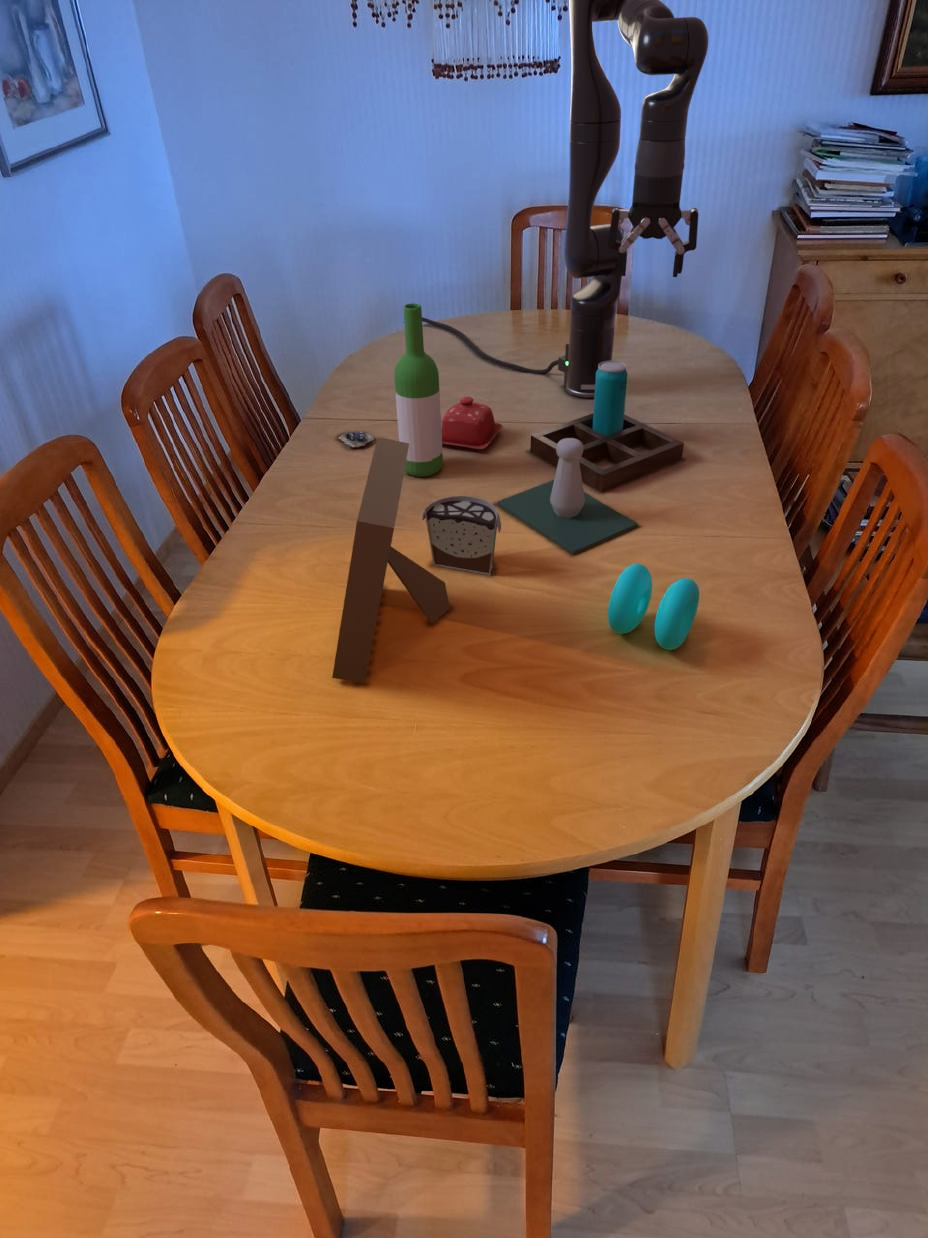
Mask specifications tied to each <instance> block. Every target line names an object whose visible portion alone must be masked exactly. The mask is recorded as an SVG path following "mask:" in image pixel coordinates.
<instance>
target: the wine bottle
mask: <svg viewBox="0 0 928 1238" xmlns="http://www.w3.org/2000/svg"><path fill="white" fill-rule="evenodd" d="M422 312H423V311H422V305H421V304H419V303H416V302H415V303H407V304H405V305H404V306H403V319H404V321H403V322H405V323H404V334H405V335H404V336H405V337H404V338H405V353H404V354H403V355H402V356H401V357H400V358H399V359H398V360H397V362H396V365H395V367H394V374H393V375H394V376H393V377H394V386H395V387H394V388H395V389H394V393H395V405H396V406H395V407H396V417H397V419H396V420H397V432H398V433H397V434H398V441H400V442H405V443H409V448H408V454H407V459H406V465H405V471H404V473H406V474H407V475H409V476H413V477H417V478H418V477H419V478H424V477H430V476H433V475H435V474H437V473H438V472H439V471H440V470H441V469H442V467H443V463H444V461H443V460H444V458H443V444H442V432H441V428H442V417H441V416H442V415H441V412H442V411H441V391H440V389H441V388H440V376H439V375H440V374H439V368H438V365H437V363H436V361H435V360H434V359H433V358H432V356H431V355H429V354H428V353H426V351H425V347H424V346H425V345H424V330H423V321H422V317H423V314H422Z"/></svg>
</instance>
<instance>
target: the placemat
mask: <svg viewBox="0 0 928 1238" xmlns="http://www.w3.org/2000/svg"><path fill="white" fill-rule="evenodd" d="M553 483H554V479H552V480H550V481H547V482H544V483H542V484H540V485H537V486H534V487H532V488H529V489H527V490H524V491H522V492H519V493H516V494H513V495H511V496H508V497H506V498H504V499H501V500H498V501H496V505H497V506H499V507H500V508H501V509H503V510H505V511H506V512H507V513H509V514H510V515H512V516H513V517H515V518H517V519H518V520H519V521H521V522H523V523H524V524H526V525H527V526H529V527H530V528H532V529H533V530H535V531H536V532H538V533H539V534H541V535H542V536H544V537H545V538H547V539H549V540H550V541H551V542H553V543H554V544H556V545H558V546H559V547H561V548H562V549H563V550H565V551H567V552H568V553H570V554H571V555H576V554H578V553H580V552H582V551H585V550H588V549H590V548H592V547H594V546H597V545H599V544H600V543H603V542H605V541H608V540H610V539H612V538H614V537H616V536H619V535H621V534H624V533H626V532H628V531H631V530H633V529H635V528H637V527H638V525H639V524H638V522H636V521H635V520H632V519H631V518H629V517H628V516H626V515H624V514H623V513H620V512H619V511H617V510H616V509H613V508H612V507H610V506H609V505H607V504H605V503H604V502H601V501H600V500H598V499H596V498H594V497H593V496H591V495H590V494H588V493H586V492H584V496H585V502H584V505H583V507H582V509H581V511H580V512H579V514H578V515H577V516H574V517H572V518H563V517H559V516H558V515H557V514H556V513H555V512H554V510H553V507H552V505H551V502H550V497H551V492H552V488H553Z"/></svg>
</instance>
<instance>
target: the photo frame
mask: <svg viewBox="0 0 928 1238" xmlns="http://www.w3.org/2000/svg"><path fill="white" fill-rule="evenodd" d="M376 437H377V438H376V442H375V445H374V449H373V454H372V458H371V462H370V465H369V470H368V474H367V478H366V482H365V486H364V491H363V493H362V494H363V495H362V498H361V502H360V507H359V511H358V515H357V518H356V524H355V531H354V538H353V543H352V548H351V549H352V550H351V557H350V562H349V569H348V575H347V582H346V587H345V594H344V600H343V606H342V613H341V618H340V619H341V620H340V626H339V631H338V637H337V645H336V651H335V657H334V663H333V671H332V677H331V678H332V679H336V680H341V681H348V682H353V683H359V684H366V679H367V673H368V670H369V664H370V657H371V652H372V647H373V642H374V637H375V632H376V626H377V621H378V616H379V611H380V605H381V600H382V595H383V589H384V585H385V579H386V573H387V568H388V565H389V567H390V568H391V569H392V572H394V574H395V575H396V576H397V578H398V580H399V581H400V582H401V583H402V585H403V586H404V588H405V589H406V591H407V592H408V594H409V595H410V596H411V598H412V599H413V600H414V602H415V604H416V605H417V606H418V608H419V609H420V611H421V612H422V614H423V615H424V616H425V618H426V619H427V620H428V622H429V623H430V624H434V623H435V622H437V620H438V619H439V618H440V617H442V616H443V615H444V614H445V613H446V612H448V610H450V609H451V606H450V605H451V604H450V601H449V596H448V591H447V586H446V585H447V584H446V582H445V581H444V580H442V579H441V578H439V577H438V576H437V575H434V574H433V573H431V572H430V571H428V569H426V568H424V567H423V566H422V565H420V564H418V563H417V562H415V561H414V560H413V559H411V558H409V557H408V556H406V555H405V554H403V553H402V552H401V551H399V550H397V549H396V548H394V547H393V546H392V541H393V537H394V536H393V535H394V530H395V526H396V521H397V515H398V509H399V503H400V497H401V492H402V487H403V481H404V475H405V465H406V459H407V454H408V448H409V443H405V442H400V441H399V440H395V439H390V438H384V437H380V436H376Z"/></svg>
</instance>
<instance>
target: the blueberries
mask: <svg viewBox="0 0 928 1238" xmlns="http://www.w3.org/2000/svg"><path fill="white" fill-rule="evenodd" d="M338 439H339V440H340V441H342V442H343V443H344V444H346V446H347V447H348V448H360V447H361V446H362V447H363V446H366V445H367V443H368V444H369V443H370V442H372V441H374V440H376V438H374V436H373V435H372V434H370V433H367V432H363V431H357V430H355V431H349V432H347V433H343V434H340V436H338Z"/></svg>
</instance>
